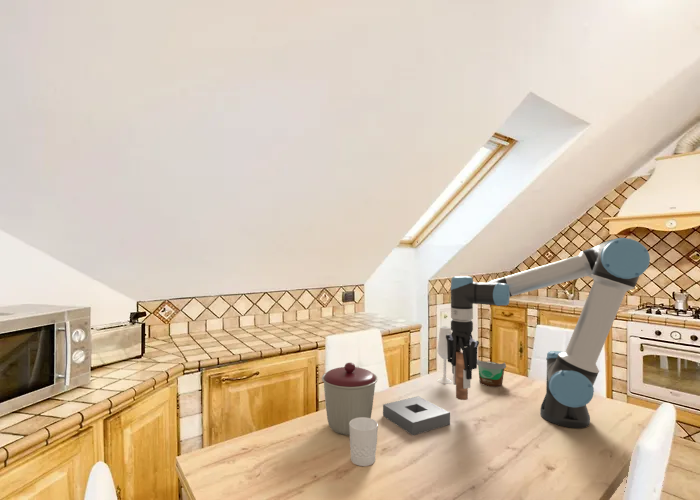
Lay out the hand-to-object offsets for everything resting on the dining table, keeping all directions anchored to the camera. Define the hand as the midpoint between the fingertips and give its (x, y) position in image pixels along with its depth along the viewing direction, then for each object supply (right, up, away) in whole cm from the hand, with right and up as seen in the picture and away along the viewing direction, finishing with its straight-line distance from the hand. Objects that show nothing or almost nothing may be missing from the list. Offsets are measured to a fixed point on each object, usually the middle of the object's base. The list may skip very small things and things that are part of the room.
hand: (461, 385), depth 135 cm
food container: (+21, -11, +30) cm, 39 cm away
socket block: (-17, -10, -5) cm, 20 cm away
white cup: (-36, -10, -30) cm, 48 cm away
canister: (-40, -10, -11) cm, 43 cm away
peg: (0, -4, 0) cm, 4 cm away
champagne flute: (+3, -10, +34) cm, 36 cm away
